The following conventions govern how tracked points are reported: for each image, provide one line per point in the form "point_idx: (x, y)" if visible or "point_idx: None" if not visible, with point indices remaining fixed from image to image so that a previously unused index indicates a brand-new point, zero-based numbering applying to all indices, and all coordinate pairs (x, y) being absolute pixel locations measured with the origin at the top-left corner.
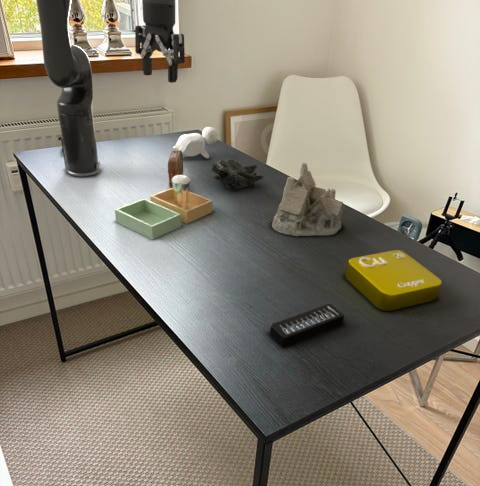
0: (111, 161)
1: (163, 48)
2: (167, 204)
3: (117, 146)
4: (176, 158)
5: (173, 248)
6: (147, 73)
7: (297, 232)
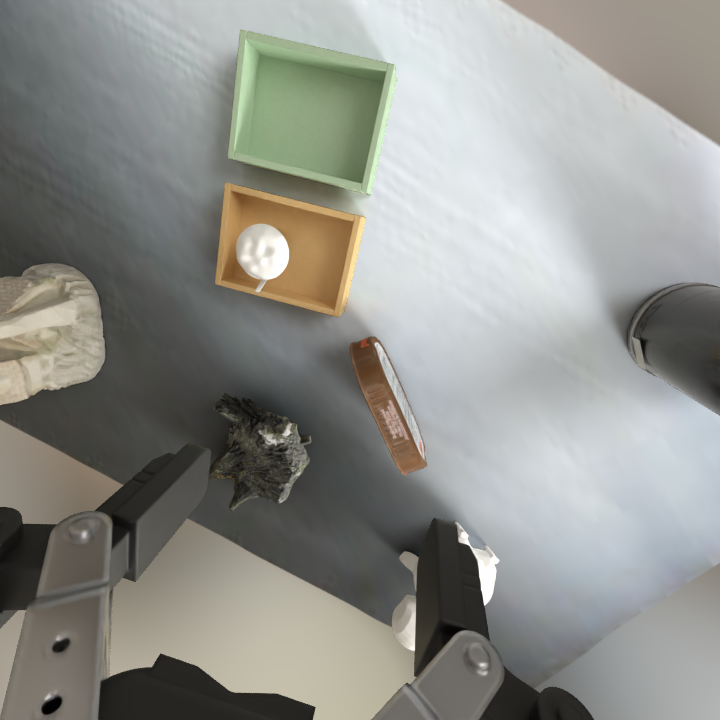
0: (634, 435)
1: (34, 660)
2: (295, 200)
3: (675, 536)
4: (371, 402)
5: (188, 37)
6: (430, 537)
7: (26, 271)
